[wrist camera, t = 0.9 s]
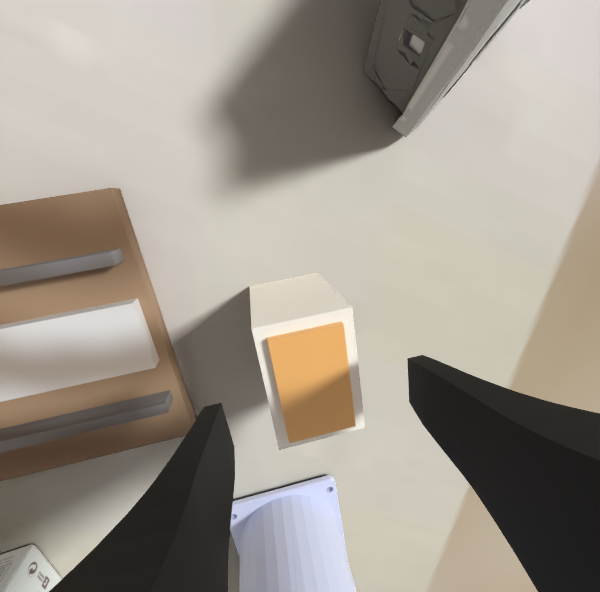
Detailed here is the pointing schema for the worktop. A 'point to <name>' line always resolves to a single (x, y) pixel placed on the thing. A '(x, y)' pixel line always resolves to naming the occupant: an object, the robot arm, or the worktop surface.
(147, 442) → the mounting board
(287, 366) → the rail module
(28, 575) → the supplement box
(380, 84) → the electrical switch
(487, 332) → the worktop surface
